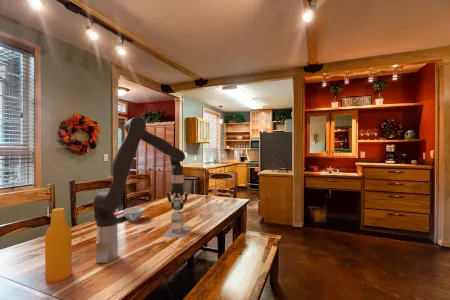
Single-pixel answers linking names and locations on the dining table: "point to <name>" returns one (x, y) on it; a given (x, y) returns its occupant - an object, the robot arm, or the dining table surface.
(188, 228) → the tower board
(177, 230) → the base block
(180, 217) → the top block
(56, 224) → the beer bottle
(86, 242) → the dining table surface
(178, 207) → the cylinder
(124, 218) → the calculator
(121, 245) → the dining table surface
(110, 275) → the dining table surface
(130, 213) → the chinaware
